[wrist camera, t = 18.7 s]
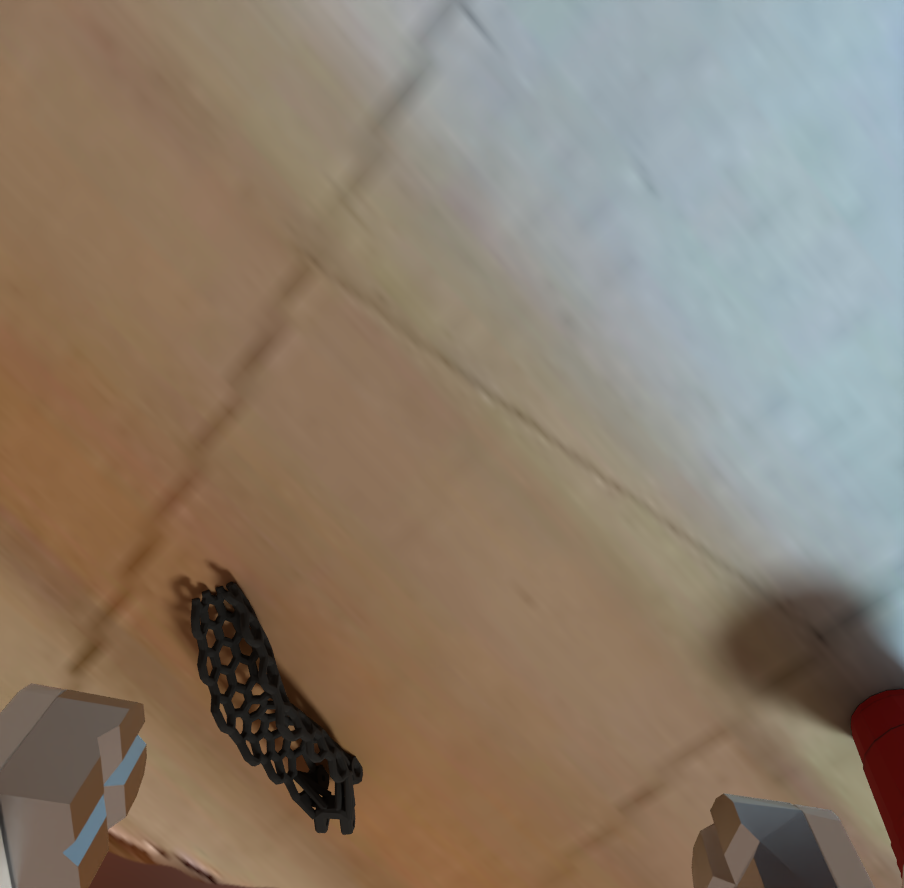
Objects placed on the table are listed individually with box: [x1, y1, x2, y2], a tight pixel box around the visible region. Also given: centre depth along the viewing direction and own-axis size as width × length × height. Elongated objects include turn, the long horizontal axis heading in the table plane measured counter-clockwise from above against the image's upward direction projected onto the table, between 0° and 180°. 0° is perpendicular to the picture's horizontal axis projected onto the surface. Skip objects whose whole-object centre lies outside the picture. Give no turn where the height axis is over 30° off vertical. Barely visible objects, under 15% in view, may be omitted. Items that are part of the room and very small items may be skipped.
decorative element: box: [191, 582, 363, 835], centre depth 49 cm, size 22×5×6 cm, turn 22°
